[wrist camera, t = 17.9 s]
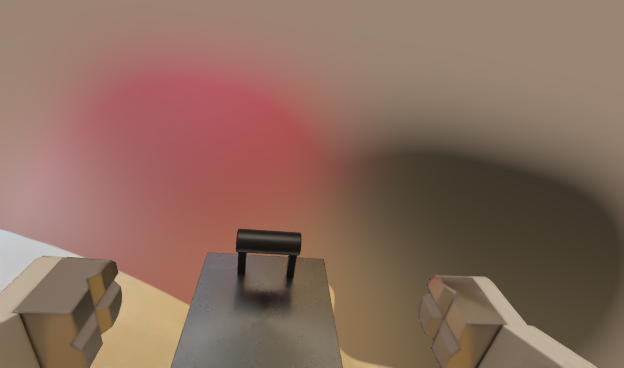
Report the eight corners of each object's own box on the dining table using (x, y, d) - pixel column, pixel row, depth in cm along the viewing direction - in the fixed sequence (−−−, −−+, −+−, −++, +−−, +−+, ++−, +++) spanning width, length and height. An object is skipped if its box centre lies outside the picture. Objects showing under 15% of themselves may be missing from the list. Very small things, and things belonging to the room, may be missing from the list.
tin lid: (207, 258, 31) (206, 212, 29) (322, 264, 33) (331, 221, 30) (149, 443, 18) (139, 384, 15) (351, 437, 19) (371, 384, 17)
